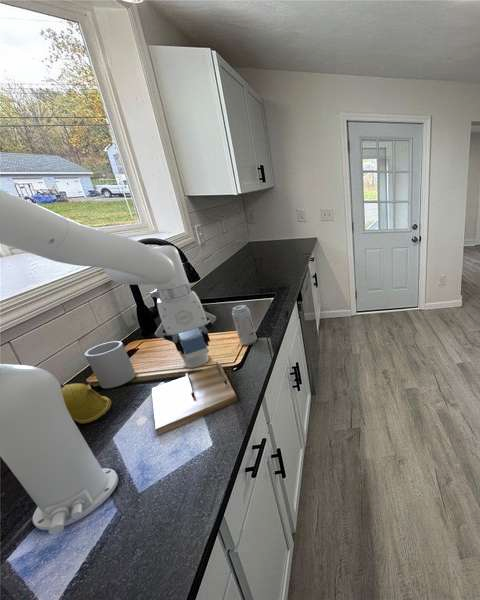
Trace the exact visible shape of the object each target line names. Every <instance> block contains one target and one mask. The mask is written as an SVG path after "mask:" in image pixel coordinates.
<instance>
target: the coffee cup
mask: <svg viewBox="0 0 480 600" xmlns="http://www.w3.org/2000/svg"><path fill="white" fill-rule="evenodd" d="M199 329H200V328H199ZM200 332H202V331H201V329H200ZM201 334H202V333H201ZM178 338H179V339H180V337H179V334H178ZM180 341H181V340H180ZM178 353H179V355H180V358H182V360H183V363H184V364H185V366H186V368H190V369H193V368H198V367H201V366H203V365H205V364H206V363H207V362H209V359H210V358H209V355H208V353H205V354H202V355H199V356H196V357H193V358H190V359H186V357H185V354H182V353H181V351H178Z"/></svg>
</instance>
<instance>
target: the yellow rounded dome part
mask: <svg viewBox="0 0 480 600" xmlns="http://www.w3.org/2000/svg"><path fill="white" fill-rule="evenodd" d="M60 387H61V390H62V395H63V399H64V402H65V405H66V407H67V410H68V412H69V414H70V416H71V417H72V419H73V420H75V422H77V424H81V425H84V424H86V425H87V424H90V423H93V422H95V421H96V420H98V419H100V418H101V417H102V416H103V415H105V414H106V413H107V412H108V411H110V410H111V407H112V399H111V398H110V397H107V396H105V395H100V394H99V393H98V392H97V391H95V390H94V389H93V388H92V386H91V384H85V383H79V382H78V383H77V382H76V383H70V384H69V383H68V384H64V383H61V384H60Z"/></svg>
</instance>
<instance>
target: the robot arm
mask: <svg viewBox="0 0 480 600" xmlns="http://www.w3.org/2000/svg"><path fill="white" fill-rule="evenodd" d="M0 244H1V245H4V246H6V247H11V248H14V249H16V250H20V251H23V252H26V253H29V254H32V255H35V256H38V257H41V258H43V259H47V260H50V261H53V262H56V263H61V264H65V265H72V266H79V267H91V268H92V267H93V268H100V269H104V270H105V271H104V272H105V274H106V276H107V277H108V278H109V279H110V280H111V281H113V282H114V283H117V284H119V285H120V284H121V285H127V286H129V285H130V286H135V285H136V286H138V285H139V286H141V285H147V286H149V285H150V286H151V285H153V286H154V291H152V292H149V294H150V296H151V298H158V299H157V300H156V306H157V310H158V314H159V319H160V321H161V322H160V324H159V326H158V327H157V329H156V331H155V332H154V337H157V338H160V339H164V340H166V341H168V342H172V343H173V344H174V345H175V348H176V350H177V352H179V351H181V353H182V354H184V350H183V347H182V344H181V341H180V339H179V338H178V334H179V333H182V332H186V331H189V330H193V329H196V328H200V329H201V331H202V332H201V333H202V336H203V339H204V342H205V344H206V346H207V347H209V346H210V344H209V343H210V342H211V339H210V335H209V330H210V329H211V328H212V327H213V324H214V323H215V322H216V321H217V319H218V318H217V316H216V315H214V314H211V313H210V312H208V311H205V310H204V308H203V304H202V303H201V299H200V298H199V296H198V295H197V293H196V292H195V291H194V290H192V289H191V286H190V283H189V280H188V277H187V273H186V270H185V268H184V264H183V262H182V259H181V256H180V253H179V251H178V249H177V248H176V246H174V245H159V246H152V247H151V246H149V245H147V244H145V243H142V242H141V241H137V240H135V239H132V238H128V237H125V236H122V235H119V234H115V233H112V232H108V231H105V230H102V229H99V228H95V227H91V226H88V225H85V224H81V223H78V222H76V221H75V220H71V219H70V218H67V217H65V216H63V215H61V214H58V213H56V212H54V211H51V210H50V209H47V208H45V207H43V206H41V205H39V204H36V203H34V202H32V201H29V200H27V199H25V198H24V197H23V198H22V197H20V196H19V195H16V194H14V193H11V192H9V191H7V190H4V189H2V188H0ZM164 331H165V332H164ZM60 385H61V384H60V382H59V381H58V379H57V378H56V376H55V375H54V374H52V373H51V372H49V371H48V370H45V369H43V368H41V367H38V366H33V365H27V364H14V363H13V364H11V363H9V364H8V363H0V458H1V459H2V461H3V462H4V463H5V464H6V466H7V467H8V468H9V470H10V471H11V472H12V474H13V475H14V476H15V478H16V479H17V481H18V482H19V483H20V485H21V486H22V487H23V489H24V490H25V492H26V493H27V494H28V495H29V497H30V498H31V499H32V501H33V502H34V503H35V505H36V506H37V507H36V508H35V511H34V512H33V514H32V519H31V520H32V523H33V525H34V526H35V527H36V528H37V529H38V530H41V531H48V532H47V533H48V535H51V536H54V535H58V534H60V533H62V532H63V531H64V529H65V527H66V526H69V525H71V524H73V523H75V522H78V521H80V520H81V519H83V518H85V517H86V516H87V515H90V514H91V513H92V512H94V511H95V510H96V509H98V508H99V507H100V506H101V505H102V504H104V503H105V501H106V500H107V499H108V498H109V497H111V495H112V493H113V492H114V491H115V489H116V487H118V483H119V476H118V473H117V472H116V470H115V469H112V468H108V467H102V466H101V465H100V463H99V462H98V459H97V458H96V456H95V455H94V452H93V451H92V450H91V448H90V446H89V445H88V443H87V441H86V439H85V438H84V436H83V434H82V433H81V431H80V429H79V427H78V426H77V425H76V423H75V421H74V418H72V417H71V416H70V414H69V412H68V410H67V407H66V405H65V402H64V399H63V395H62V390H61V387H60Z"/></svg>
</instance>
